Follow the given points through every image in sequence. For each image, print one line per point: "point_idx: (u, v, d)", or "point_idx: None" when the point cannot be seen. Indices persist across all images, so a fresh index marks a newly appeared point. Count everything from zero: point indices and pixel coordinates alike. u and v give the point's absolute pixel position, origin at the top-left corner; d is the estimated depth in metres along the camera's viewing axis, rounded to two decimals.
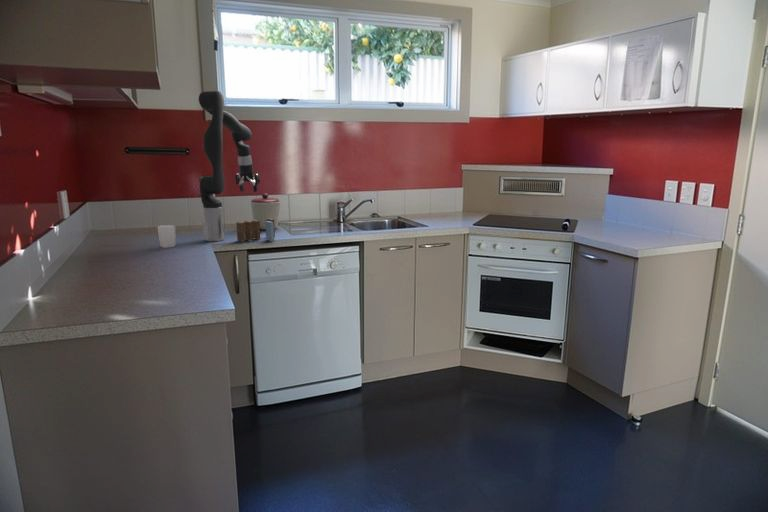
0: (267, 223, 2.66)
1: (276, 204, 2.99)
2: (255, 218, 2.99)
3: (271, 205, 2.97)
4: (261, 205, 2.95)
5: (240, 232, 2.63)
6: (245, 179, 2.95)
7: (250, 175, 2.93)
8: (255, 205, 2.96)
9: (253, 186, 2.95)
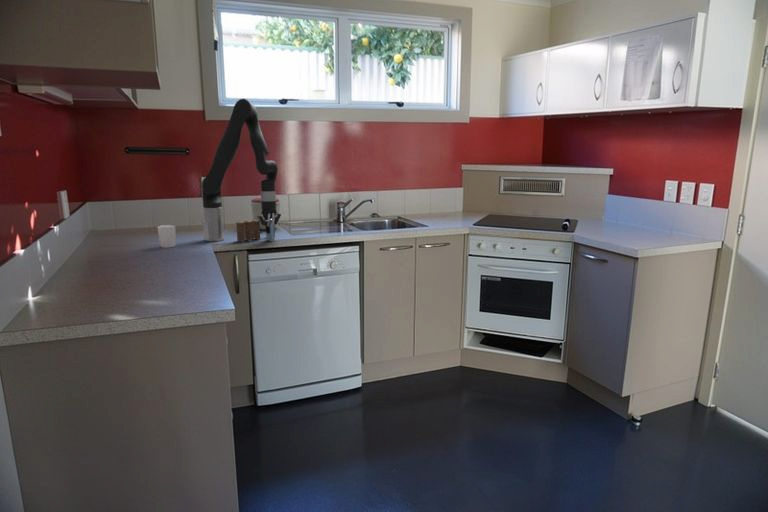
0: None
1: (276, 204, 2.99)
2: (255, 218, 2.99)
3: None
4: None
5: (240, 232, 2.63)
6: None
7: None
8: (255, 205, 2.96)
9: None
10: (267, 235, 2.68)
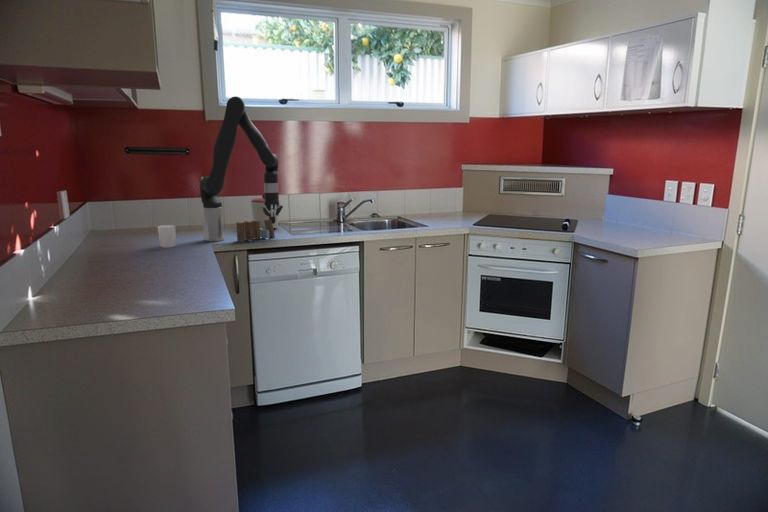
0: None
1: None
2: (255, 218, 2.99)
3: None
4: (261, 205, 2.95)
5: (240, 232, 2.63)
6: None
7: None
8: (255, 205, 2.96)
9: None
10: (264, 236, 2.73)
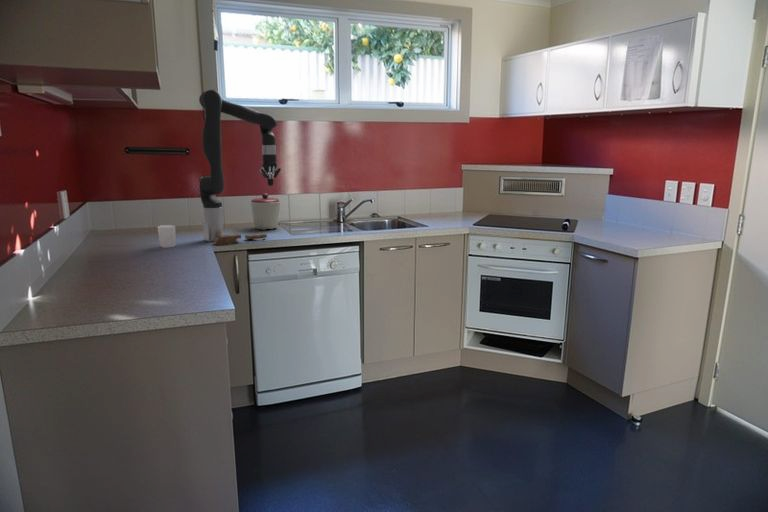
0: None
1: (276, 204, 2.99)
2: (255, 218, 2.99)
3: (271, 205, 2.97)
4: (261, 205, 2.95)
5: None
6: None
7: None
8: (255, 205, 2.96)
9: None
10: None
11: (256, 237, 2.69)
